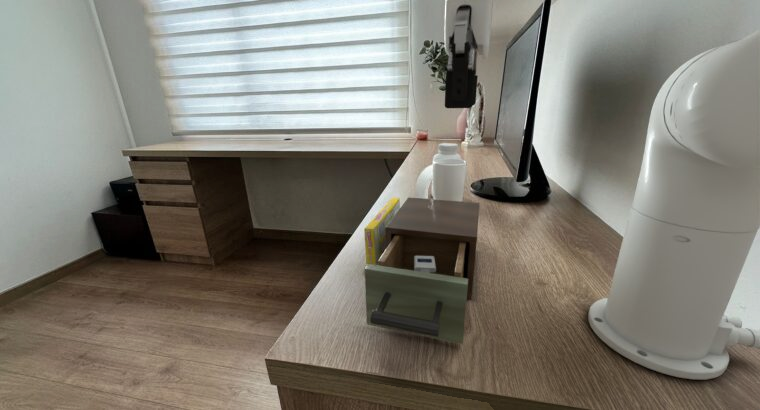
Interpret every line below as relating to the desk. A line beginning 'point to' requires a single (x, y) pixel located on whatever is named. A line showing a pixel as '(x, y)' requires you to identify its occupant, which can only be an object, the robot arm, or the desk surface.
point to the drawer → (419, 289)
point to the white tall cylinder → (449, 179)
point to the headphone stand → (424, 182)
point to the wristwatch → (424, 264)
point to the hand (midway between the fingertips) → (461, 106)
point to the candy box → (379, 231)
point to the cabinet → (439, 226)
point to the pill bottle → (446, 153)
